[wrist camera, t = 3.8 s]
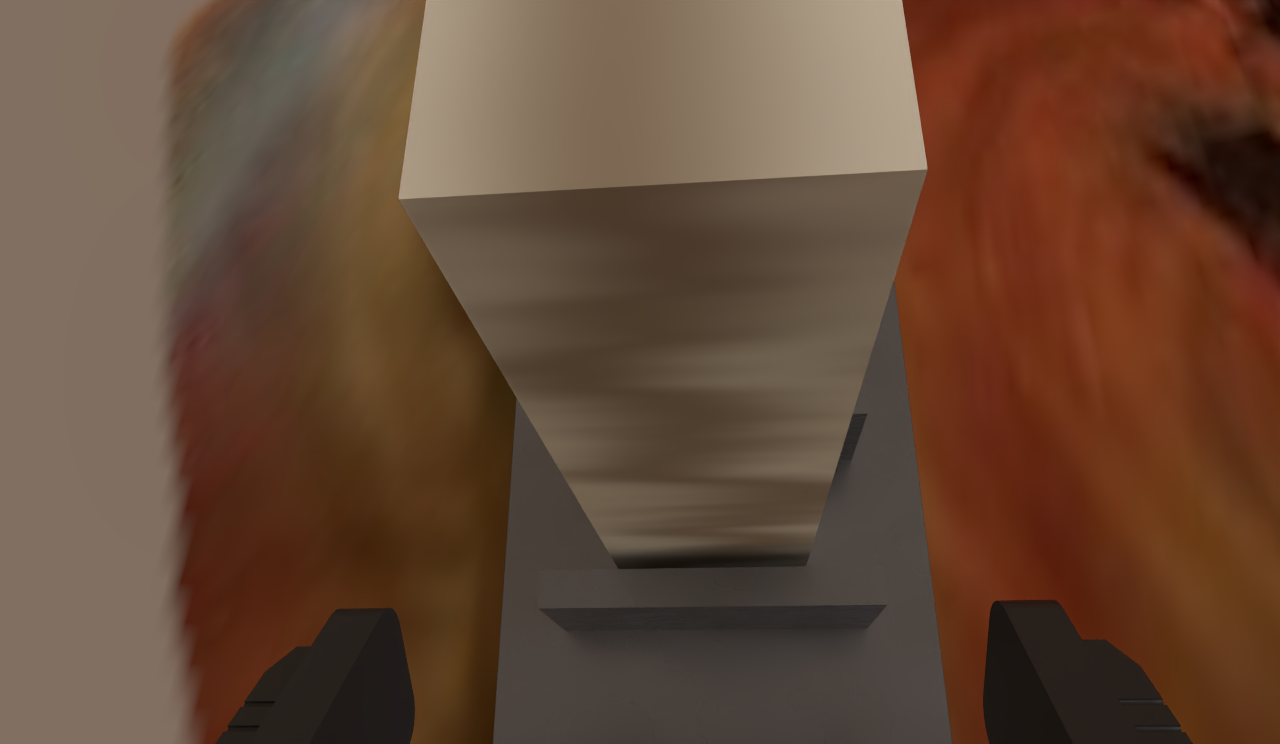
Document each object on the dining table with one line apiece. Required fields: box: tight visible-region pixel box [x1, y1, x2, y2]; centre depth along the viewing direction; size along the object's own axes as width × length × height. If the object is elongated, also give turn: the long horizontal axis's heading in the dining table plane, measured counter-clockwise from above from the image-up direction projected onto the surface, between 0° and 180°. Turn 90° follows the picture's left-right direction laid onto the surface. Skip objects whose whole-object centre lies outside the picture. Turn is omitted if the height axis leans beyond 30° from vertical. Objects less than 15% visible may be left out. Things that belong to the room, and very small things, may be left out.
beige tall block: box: [399, 0, 928, 569], centre depth 19 cm, size 6×3×20 cm, turn 90°
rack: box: [493, 281, 952, 744], centre depth 27 cm, size 13×31×6 cm, turn 0°
